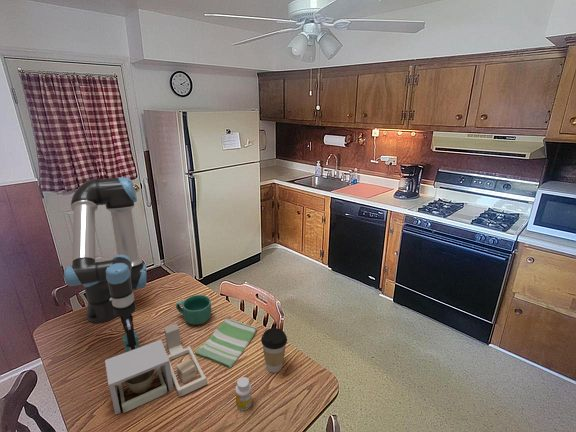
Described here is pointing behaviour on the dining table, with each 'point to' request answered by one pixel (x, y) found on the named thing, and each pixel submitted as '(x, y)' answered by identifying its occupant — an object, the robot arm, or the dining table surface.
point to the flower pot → (141, 382)
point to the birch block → (186, 370)
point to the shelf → (136, 367)
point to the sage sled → (144, 397)
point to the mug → (195, 309)
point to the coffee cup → (274, 348)
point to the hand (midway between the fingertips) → (132, 350)
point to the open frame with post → (176, 351)
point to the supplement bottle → (243, 394)
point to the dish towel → (227, 342)
